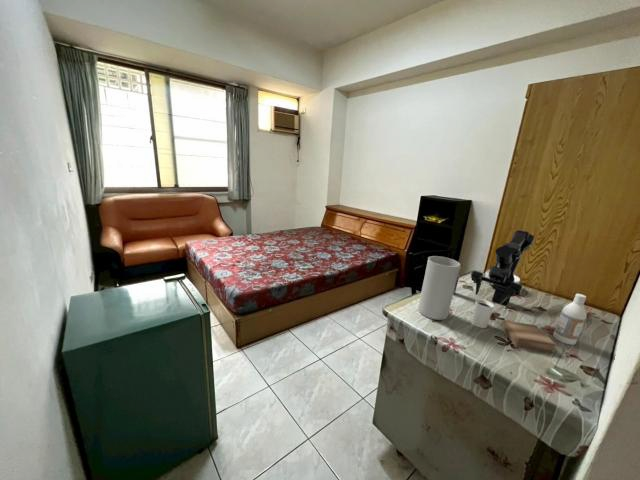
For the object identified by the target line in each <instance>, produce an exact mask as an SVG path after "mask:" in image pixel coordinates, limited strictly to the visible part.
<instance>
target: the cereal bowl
mask: <svg viewBox="0 0 640 480" xmlns="http://www.w3.org/2000/svg"><path fill="white" fill-rule="evenodd" d="M489 272H490V269H487V270H486V271H485V276H484V277H488V278H489V277H490V276H489ZM514 279H515V283H517V284H520V282H521V278H520V277H519V276H517V275H515V274H514ZM489 284H491V285H492V286H493V284H492V283H489Z"/></svg>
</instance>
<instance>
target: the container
mask: <svg viewBox="0 0 640 480" xmlns="http://www.w3.org/2000/svg"><path fill="white" fill-rule="evenodd" d="M461 269H462V267H461V266H460V268H459V272H458V276H457V280H456V284H455V288H454V293H453V296H454V295H455V294H456V290H457V287H458V283H459V279H460V275H461V271H462V270H461Z"/></svg>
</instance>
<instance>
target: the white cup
mask: <svg viewBox="0 0 640 480" xmlns="http://www.w3.org/2000/svg"><path fill="white" fill-rule="evenodd" d="M494 308H495V305H494V304H493V302H492V301H491V302H490V301H488V300H485V299H479V298H477V299H476V300H475V304H474V307H473V312H472V313H473V314H472V315H471V316H472V317H471V323H472V325H474V326H475V327H477V328H482V329H485V328H487V327H488V324H489V322H490V319H491V317H492V314H493V311H494Z"/></svg>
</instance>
